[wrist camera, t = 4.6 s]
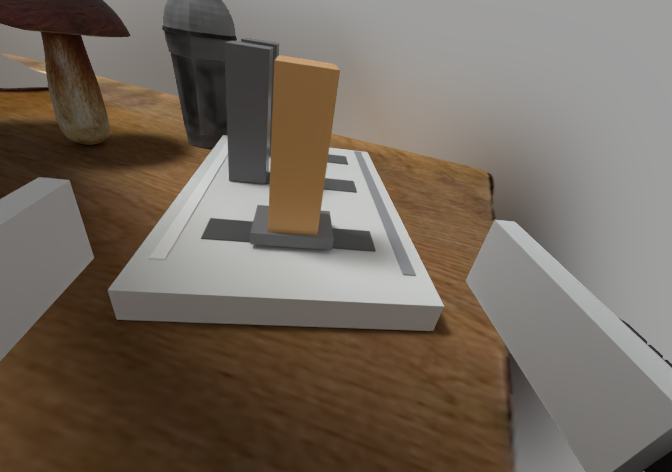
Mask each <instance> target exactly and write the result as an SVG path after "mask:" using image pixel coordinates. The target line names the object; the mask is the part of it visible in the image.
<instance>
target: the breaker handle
mask: <svg viewBox="0 0 672 472" xmlns="http://www.w3.org/2000/svg"><path fill="white" fill-rule="evenodd" d="M339 73H340V70H339V69H338V68H337V66H336V65H335V64H332V63H325V62H319V61H313V60H306V59H300V58H294V57H287V56H281V55H279V56H278V57H277V58H276V59H275V60H274V86H273V112H272V138H271V163H270V189H269V206H265V205H257V209H256V213H255V216H254V220H253V224H252V228H251V232H250V244H255V245H269V246H283V247H297V248H311V249H325V250H332V246H333V240H334V238H333V231H332V224H331V216H330V211H321V205H322V197H323V190H324V183H325V175H326V168H327V161H328V153H329V146H330V139H331V131H332V123H333V116H334V109H335V102H336V95H337V87H338V80H339Z"/></svg>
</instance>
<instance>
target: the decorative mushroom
mask: <svg viewBox="0 0 672 472" xmlns="http://www.w3.org/2000/svg"><path fill="white" fill-rule="evenodd" d="M0 23H1V24H4V25H8V26H11V27H15V28H19V29H23V30H30V31H40V32H41V34H42V40H43V45H44V51H45V62H46V73H47V80H48V87H49V91H50V96H51V100H52V103H53V108H54V112H55V116H56V120H57V122H58V125H59V127H60V129H61V131H62V133H63V134H64V135H65V136H66V137H67V138H68V139H70V140H72V141H74V142H77V143H81V144H86V145H94V144H99V143H101V142H103V141H105V140H106V139H107V138H108V135H109V121H108V116H107V113H106V109H105V105H104V101H103V98H102V95H101V91H100V88H99V85H98V82H97V79H96V76H95V74H94V71H93V69H92V66H91V63H90V60H89V58H88V55H87V52H86V50H85V47H84V44H83V40H82V37H81V35H86V36H99V37H128V36H130V34H129V32H128V30H127V28H126V27H125V25H124V24H123V22H122V21H121V19H120V18H119V17H118V15H117V14H116V13H115V12H114V11H113V10H112V9H111V8H110V7H109V6H108V5H107V4H106V3H105V2H104V1H103V0H0Z"/></svg>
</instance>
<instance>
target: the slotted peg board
mask: <svg viewBox="0 0 672 472" xmlns="http://www.w3.org/2000/svg"><path fill="white" fill-rule="evenodd" d="M224 49H225V79H226V108H227V135H223V136H222V137H221V139H220V140H219V141H218V143H217V144H216V145H215V147H214V148H213V149H212V151H211V152H210V153H209V155H208V156H207V157H206V159H205V160H204V161H203V163H202V164H201V165H200V167H199V168H198V170H197V171H196V172H195V174H194V175H193V176H192V178H191V179H190V180H189V182H188V183H187V184H186V186H185V187H184V188H183V190H182V191H181V192H180V194H179V195H178V196H177V198H176V199H175V200H174V202H173V203H172V204H171V206H170V207H169V208H168V210H167V211H166V212H165V214H164V215H163V216H162V218H161V219H160V220H159V222H158V223H157V224H156V226H155V227H154V228H153V230H152V231H151V233H150V234H149V235H148V237H147V238H146V239H145V241H144V242H143V243H142V245H141V246H140V247H139V249H138V250H137V251H136V253H135V254H134V255H133V257H132V258H131V259H130V261H129V262H128V263H127V265H126V266H125V267H124V269H123V270H122V271H121V273H120V274H119V275H118V277H117V278H116V279H115V281H114V282H113V283H112V285H111V286H110V287H109V289H108V294H109V297H110V300H111V303H112V306H113V310H114V313H115V316H116V319H117V320H139V321H167V322H194V323H222V324H250V325H278V326H306V327H333V328H361V329H389V330H417V331H433V330H434V328H435V326H436V324H437V321H438V319H439V317H440V315H441V312H442V310H443V308H444V305H443V303H442V301H441V299H440V297H439V295H438V293H437V291H436V289H435V287H434V285H433V283H432V281H431V279H430V277H429V275H428V273H427V271H426V269H425V267H424V265H423V263H422V261H421V259H420V257H419V255H418V253H417V251H416V249H415V247H414V245H413V243H412V241H411V239H410V237H409V235H408V233H407V231H406V229H405V227H404V225H403V223H402V221H401V219H400V217H399V215H398V213H397V211H396V209H395V207H394V205H393V203H392V201H391V199H390V197H389V195H388V193H387V191H386V189H385V187H384V185H383V183H382V181H381V179H380V177H379V175H378V173H377V171H376V169H375V167H374V165H373V163H372V161H371V159H370V157H369V155H368V153H367V152H361V151H353V150H345V149H336V148H329V153H328V161H327V168H326V175H325V183H324V190H323V197H322V205H321V211H330V216H331V224H332V231H333V238H334V240H333V246H332V250H325V249H311V248H297V247H283V246H269V245H255V244H250V232H251V228H252V224H253V220H254V216H255V213H256V209H257V205H265V206H269V189H270V163H271V138H272V112H273V86H274V60H275V59H276V58H277V57H278V56H279V43H275V42H269V41H263V40H257V39H251V38H244V39H241V42H238V41H228V42H224Z"/></svg>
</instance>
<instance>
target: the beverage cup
mask: <svg viewBox="0 0 672 472" xmlns="http://www.w3.org/2000/svg"><path fill="white" fill-rule="evenodd" d="M163 23H164V25H163V27H162V29H163V30H164V31H165V38H166V42H167V45H168V48H169V51H170V52H171V57H172V62H173V67H174V72H175V78H176V83H177V88H178V93H179V99H180V104H181V109H182V114H183V120H184V125H185V129H186V132H187V136H188V142H189V143H190V144H191V145H194V146H197V147H203V148H214V147H215V145H216V144H217V143H218V141H219V140H220V139H221V137H222V136H223V135H227V108H226V79H225V49H224V42H228V41H236V40H237V39H236V36H235V28H234V23H233V20H232V17H231V15H230V13H229V11H228V9H227V7H226V6H225V4H224V3H223V2H222V0H167V3H166V5H165V9H164V15H163Z"/></svg>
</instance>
